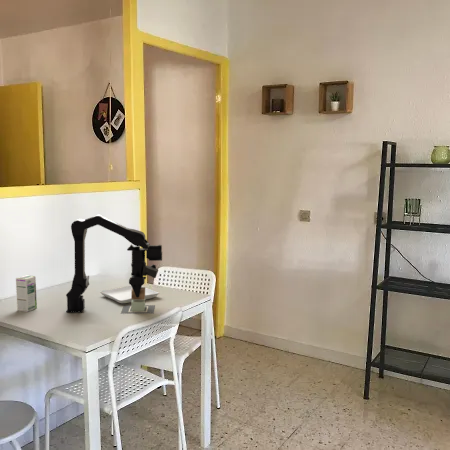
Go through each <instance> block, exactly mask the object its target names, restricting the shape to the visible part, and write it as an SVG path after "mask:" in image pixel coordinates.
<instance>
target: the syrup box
mask: <svg viewBox="0 0 450 450" xmlns="http://www.w3.org/2000/svg"><path fill="white" fill-rule="evenodd" d="M36 281H37V279H36V276H35V275H30V274H27V275H23V276H19V277H16V278H15V289H16V291H15V292H16V308H17V309H16V310H17V311H20V312H25V313H29V312H31V311H33V310H36V309H38V305H37V304H38V303H37V286H36V285H37V284H36V283H37V282H36Z"/></svg>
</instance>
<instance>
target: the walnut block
mask: <svg viewBox="0 0 450 450" xmlns="http://www.w3.org/2000/svg"><path fill="white" fill-rule="evenodd" d="M145 288H146V287H144V286H142V287H141V290H140V295H139V297H136V295H135V293H134V291H133V288H132V300H144V299H145ZM145 300H146V299H145Z"/></svg>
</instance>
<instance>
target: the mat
mask: <svg viewBox="0 0 450 450" xmlns="http://www.w3.org/2000/svg"><path fill="white" fill-rule="evenodd" d="M155 309H156V305H155V304H152V305H151V304H150V305H147V304H145V310H144V311H131V305H130V304H129V305H128V304H125V305H123V306H122V309H121V311H120V314H123V315H125V314H127V315H128V314H130V315H131V314H134V315H137V314H138V315H139V314H141V315H142V314H145V315H147V314H154V313H155Z"/></svg>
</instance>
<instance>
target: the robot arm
mask: <svg viewBox="0 0 450 450" xmlns="http://www.w3.org/2000/svg"><path fill="white" fill-rule="evenodd" d="M96 226H99V227H100V226H101V227H103V229H107V230H108V231H110V232H113V233H115V234H117V235H120V237H123V238H124V239H125V240H126V241H128V242H129V243H130V245H129V247H127V249H126V250H127V251H129V252H131V263H130V266H131V274H130V277H129V279H128V284H129V286H132V288H133V291H134V293H135V295H136V297H139V295H140V290H141V287H143V285H145V283H146V281H145V280H147V276H149V277H151V278H155V279H156V278H157V275H158V272H159V269H158V268H157V265H156V264H154V263H152V264H151V265H147V262H146V259H147V260H148V261H151V262H154V261H155V262H156V261H160V262H161V261H163V248H162V247H163V246H162V244H155V245H150V243H149V241H148V240H147V239H146V234H145V233H144V232H143V231H141V230H138V229H134V228H128V227H126V226H124V225H122V224H121V223H118V222H115V221H113V220H111V219H109V218H107V217H105V216H104V215H102V214H97V215H95V216H92V217H89V218H86V219H83V218H78V219H76V220H74V221H73V222H72V223H71V225H70V229H71V230H70V231H71V235H72V238H73V240H74V275H73V277H72V279H73V280H72V281H71V282H72V283H71V288H70V290H69V291H68V292H67V293H66V294H65V296H66V301H67V302H66V305H67V306H66V309H67V310H65V311H66V313H82V312H83V311H84V310H85V308H86V307H85V304H86V303H85V302H86V301H85V298H84V295H83V294H84V293H85V292H86V290H87V289H88V287H89V285H90V281H89V279H90V275H86V268H85V267H86V264H85V263H86V261H85V254H86V253H85V251H86V249H85V248H86V246H85V244H86V243H85V241H86V236H87V233H88V229H91V228H93V227H96Z"/></svg>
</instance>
